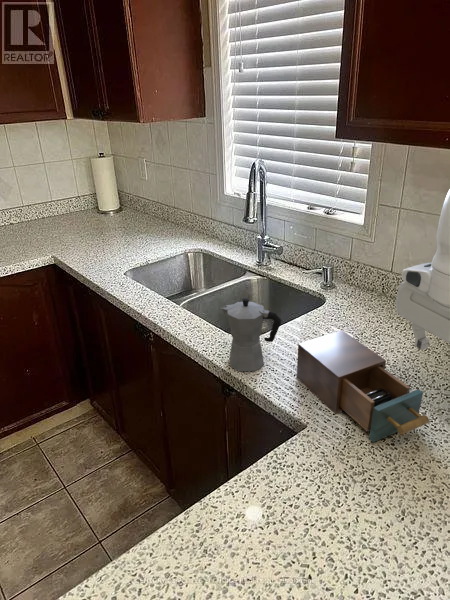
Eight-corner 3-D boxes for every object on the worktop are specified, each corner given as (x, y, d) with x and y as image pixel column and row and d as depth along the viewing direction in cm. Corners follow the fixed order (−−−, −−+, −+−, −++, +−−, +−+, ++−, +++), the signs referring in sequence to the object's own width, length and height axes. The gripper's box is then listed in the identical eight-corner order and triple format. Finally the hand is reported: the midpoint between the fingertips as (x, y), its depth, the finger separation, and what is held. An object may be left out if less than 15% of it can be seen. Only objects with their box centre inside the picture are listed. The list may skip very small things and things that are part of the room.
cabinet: (380, 396, 100) (386, 360, 96) (335, 414, 95) (338, 377, 91) (338, 363, 112) (341, 330, 107) (296, 377, 107) (298, 343, 103)
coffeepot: (215, 366, 112) (211, 303, 104) (229, 347, 120) (227, 287, 112) (274, 380, 106) (275, 313, 98) (285, 359, 114) (287, 295, 106)
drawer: (434, 436, 87) (441, 405, 84) (389, 457, 83) (395, 425, 79) (370, 386, 101) (374, 358, 98) (329, 402, 97) (332, 372, 94)
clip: (378, 402, 95) (381, 385, 93) (389, 410, 92) (392, 393, 90) (360, 410, 93) (362, 393, 91) (370, 418, 91) (373, 401, 89)
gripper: (542, 308, 60) (516, 390, 66) (422, 259, 77) (411, 329, 83) (511, 319, 58) (487, 403, 64) (394, 267, 74) (384, 337, 81)
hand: (443, 361), depth 74 cm, fingers open, 8 cm apart
